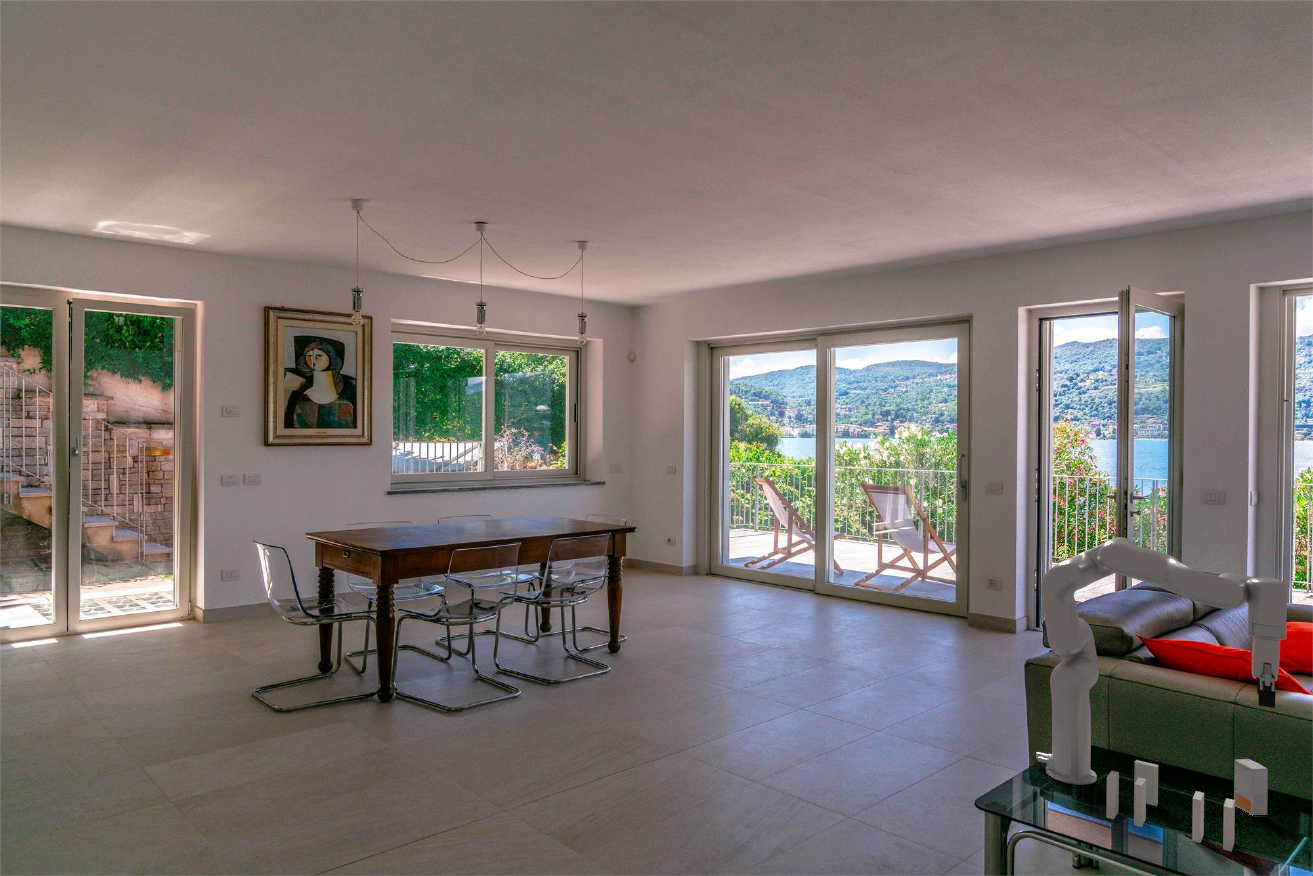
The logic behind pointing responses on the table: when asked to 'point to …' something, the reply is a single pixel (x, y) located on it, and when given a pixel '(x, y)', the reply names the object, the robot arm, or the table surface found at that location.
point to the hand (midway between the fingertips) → (1265, 700)
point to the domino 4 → (1198, 817)
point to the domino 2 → (1139, 801)
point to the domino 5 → (1228, 824)
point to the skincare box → (1250, 787)
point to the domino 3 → (1148, 780)
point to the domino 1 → (1112, 794)
